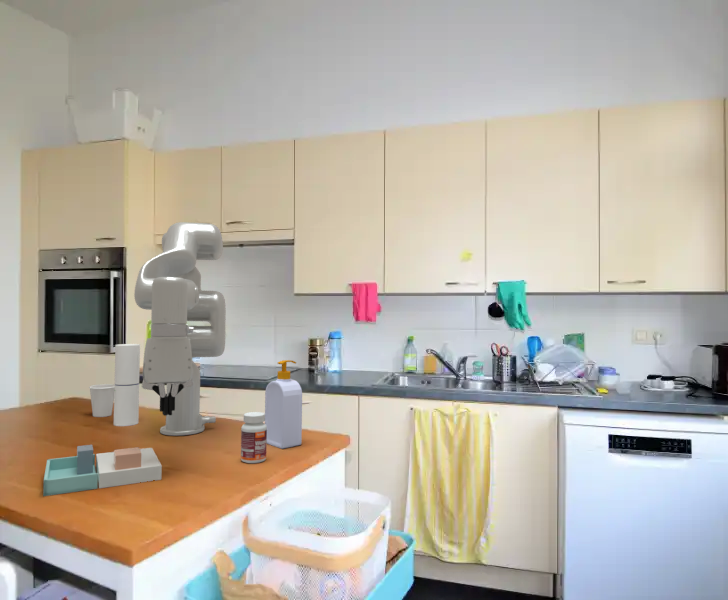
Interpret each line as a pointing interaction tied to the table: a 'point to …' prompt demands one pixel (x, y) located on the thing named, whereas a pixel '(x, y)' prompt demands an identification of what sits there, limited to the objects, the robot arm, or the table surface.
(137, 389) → the cylindrical container
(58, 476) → the tray
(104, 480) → the white flat block
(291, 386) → the soap bottle
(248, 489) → the table surface
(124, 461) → the salmon pink box
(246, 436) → the pill bottle
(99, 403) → the dixie cup
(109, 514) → the table surface
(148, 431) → the table surface
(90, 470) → the grey block
